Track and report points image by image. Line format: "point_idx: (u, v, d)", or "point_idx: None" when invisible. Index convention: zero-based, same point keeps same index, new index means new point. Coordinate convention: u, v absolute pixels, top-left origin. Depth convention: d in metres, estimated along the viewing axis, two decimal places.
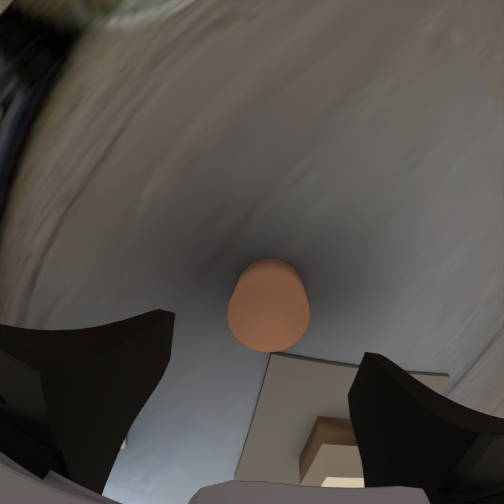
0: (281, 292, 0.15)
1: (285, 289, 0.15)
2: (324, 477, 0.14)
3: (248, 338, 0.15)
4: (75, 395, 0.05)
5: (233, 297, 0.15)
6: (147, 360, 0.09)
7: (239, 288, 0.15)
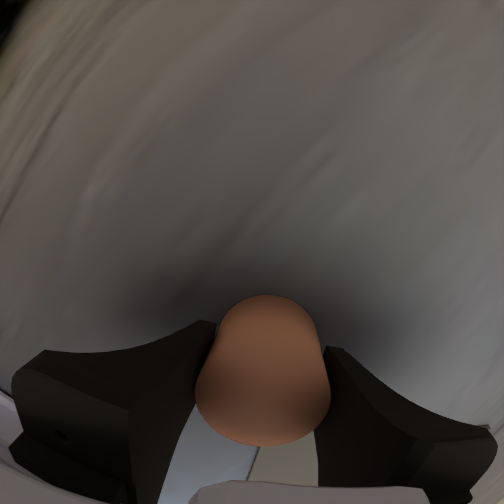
0: (284, 368, 0.08)
1: (291, 364, 0.08)
2: None
3: (230, 428, 0.09)
4: (149, 424, 0.05)
5: (203, 372, 0.08)
6: (195, 374, 0.09)
7: (212, 360, 0.08)
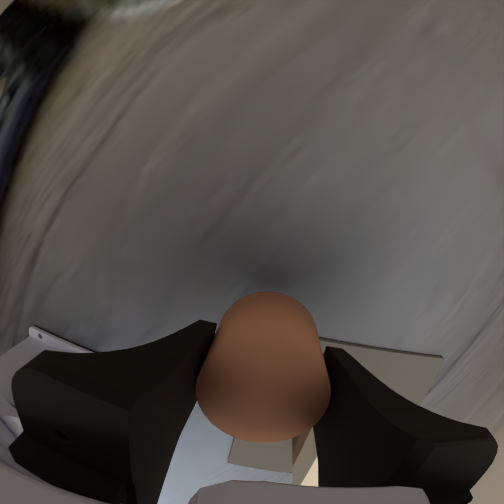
0: (284, 364, 0.08)
1: (291, 359, 0.08)
2: (315, 455, 0.15)
3: (231, 424, 0.09)
4: (149, 424, 0.05)
5: (204, 369, 0.08)
6: (195, 374, 0.09)
7: (213, 356, 0.08)
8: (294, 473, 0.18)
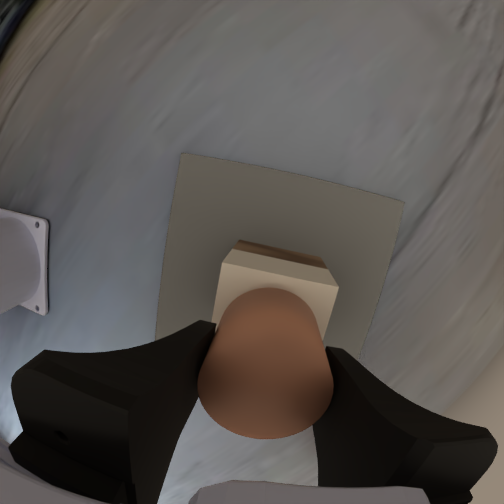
0: (284, 357, 0.08)
1: (290, 352, 0.08)
2: (221, 270, 0.13)
3: (236, 422, 0.09)
4: (148, 424, 0.05)
5: (204, 368, 0.08)
6: (194, 374, 0.09)
7: (211, 354, 0.08)
8: None
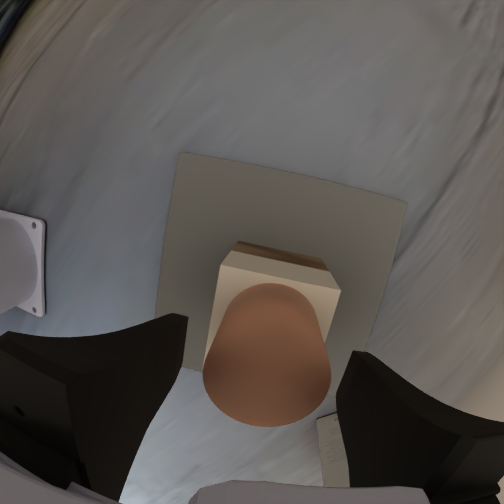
0: (284, 346, 0.09)
1: (290, 341, 0.09)
2: (219, 272, 0.13)
3: (238, 410, 0.09)
4: (98, 405, 0.05)
5: (209, 356, 0.09)
6: (162, 364, 0.09)
7: (216, 344, 0.09)
8: None
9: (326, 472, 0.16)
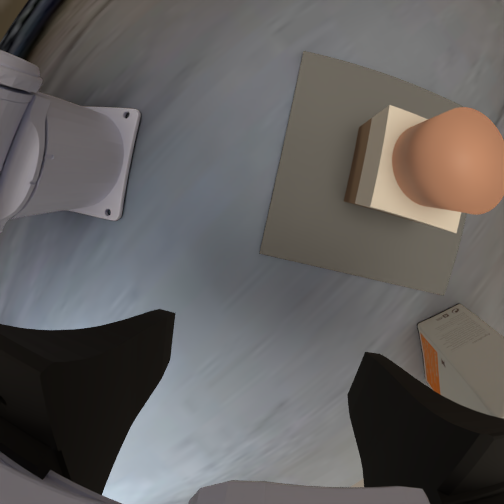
0: (482, 129, 0.09)
1: (484, 126, 0.09)
2: (386, 113, 0.13)
3: (456, 192, 0.09)
4: (75, 395, 0.05)
5: (435, 130, 0.09)
6: (146, 360, 0.09)
7: (440, 119, 0.09)
8: (361, 196, 0.15)
9: (452, 358, 0.15)
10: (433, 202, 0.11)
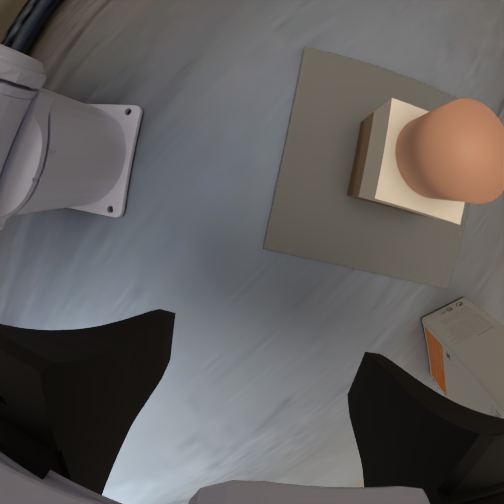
0: (484, 119, 0.09)
1: (486, 116, 0.09)
2: (389, 106, 0.13)
3: (460, 181, 0.09)
4: (75, 395, 0.05)
5: (439, 121, 0.09)
6: (147, 360, 0.09)
7: (443, 110, 0.09)
8: (364, 189, 0.15)
9: (458, 351, 0.15)
10: (437, 192, 0.11)
